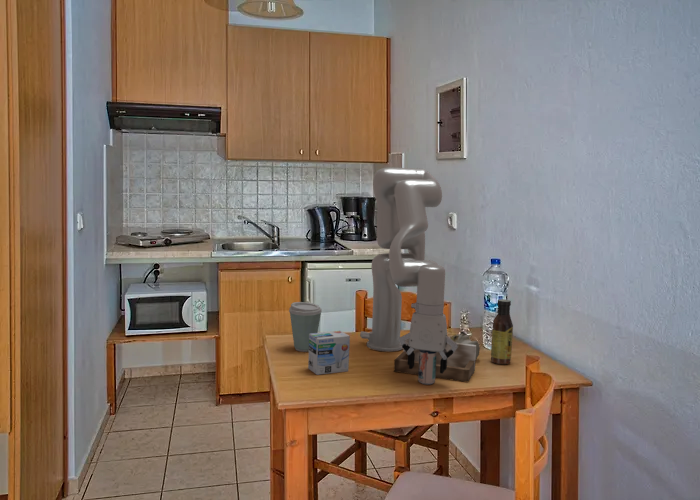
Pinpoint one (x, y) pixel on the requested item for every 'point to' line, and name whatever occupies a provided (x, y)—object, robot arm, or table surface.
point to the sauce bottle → (502, 334)
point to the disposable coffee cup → (304, 323)
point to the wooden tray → (457, 363)
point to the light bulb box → (328, 352)
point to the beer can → (427, 367)
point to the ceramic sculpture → (466, 341)
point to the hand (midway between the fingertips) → (426, 369)
